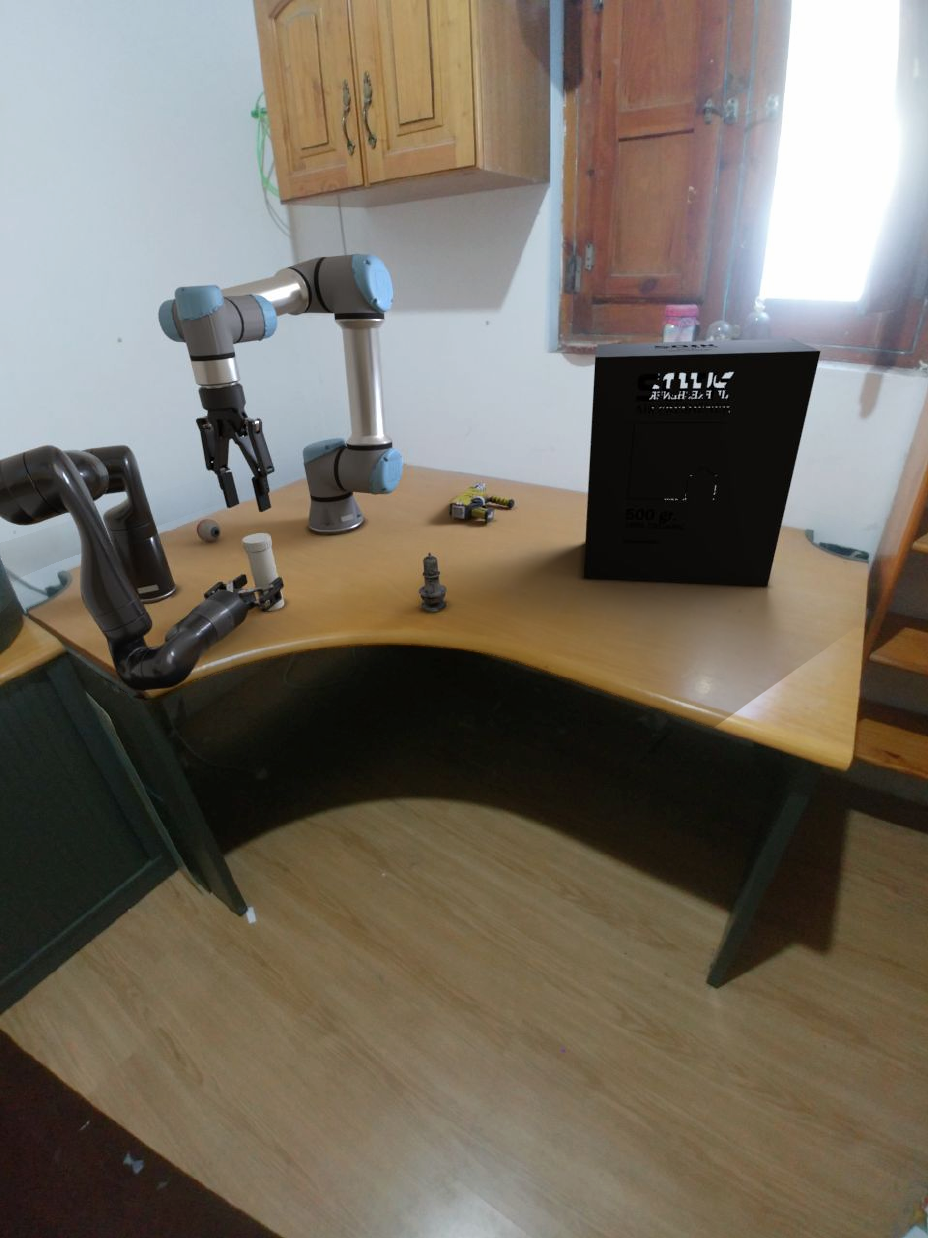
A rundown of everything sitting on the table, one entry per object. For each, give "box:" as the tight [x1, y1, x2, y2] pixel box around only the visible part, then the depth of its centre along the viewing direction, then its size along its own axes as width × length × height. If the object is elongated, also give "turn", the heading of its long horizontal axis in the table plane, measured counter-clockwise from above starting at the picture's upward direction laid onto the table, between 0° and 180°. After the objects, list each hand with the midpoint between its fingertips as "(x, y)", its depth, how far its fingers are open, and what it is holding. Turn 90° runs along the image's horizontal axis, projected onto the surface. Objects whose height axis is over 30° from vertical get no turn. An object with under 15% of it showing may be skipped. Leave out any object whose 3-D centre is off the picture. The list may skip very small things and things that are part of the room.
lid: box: [242, 532, 273, 552], centre depth 122 cm, size 6×6×2 cm
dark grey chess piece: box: [417, 551, 448, 613], centre depth 122 cm, size 6×6×12 cm
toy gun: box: [448, 481, 515, 523], centre depth 173 cm, size 5×24×15 cm
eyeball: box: [196, 518, 222, 543], centre depth 162 cm, size 6×6×6 cm
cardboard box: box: [583, 337, 821, 587], centre depth 126 cm, size 38×20×45 cm, turn 78°
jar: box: [246, 546, 285, 612], centre depth 126 cm, size 5×5×15 cm
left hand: (263, 579), depth 125 cm, fingers open, 8 cm apart
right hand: (249, 507), depth 118 cm, fingers open, 7 cm apart
